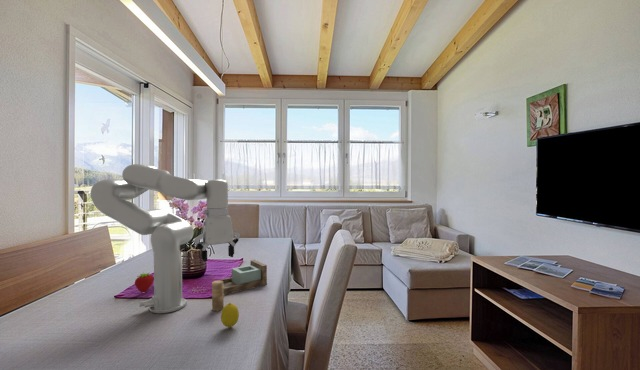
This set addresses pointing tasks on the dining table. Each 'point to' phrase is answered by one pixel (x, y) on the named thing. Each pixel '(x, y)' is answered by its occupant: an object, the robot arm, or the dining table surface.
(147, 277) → the strawberry
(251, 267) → the socket block
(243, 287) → the track board
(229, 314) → the lemon
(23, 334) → the dining table surface
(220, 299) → the oak dowel
